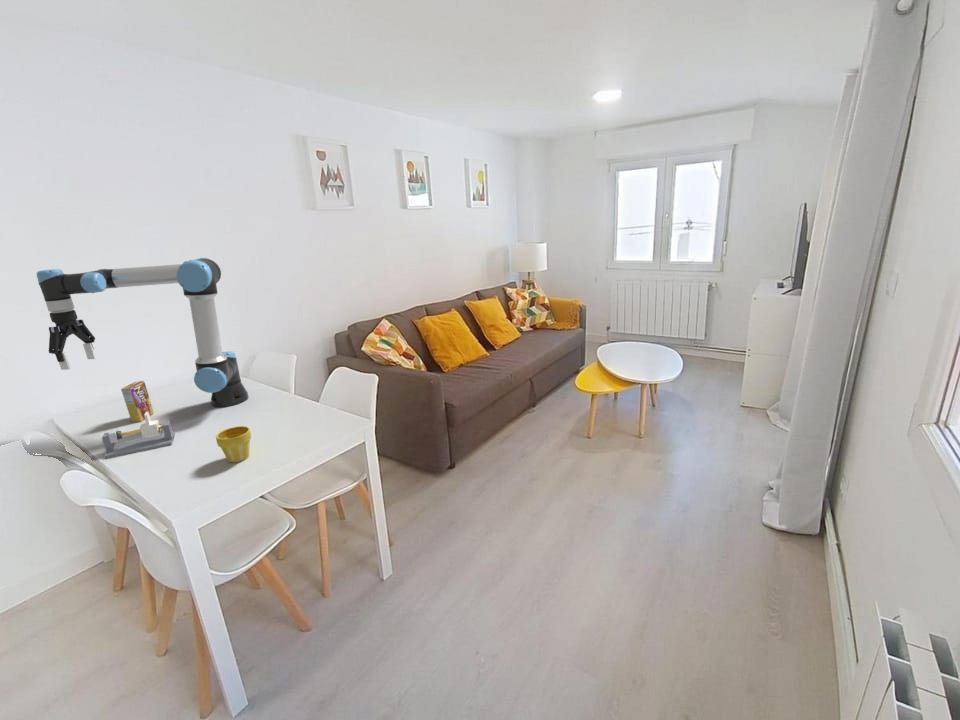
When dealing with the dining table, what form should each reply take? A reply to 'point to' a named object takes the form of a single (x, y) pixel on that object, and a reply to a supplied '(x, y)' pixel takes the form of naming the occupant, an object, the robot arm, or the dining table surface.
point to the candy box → (137, 401)
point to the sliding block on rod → (136, 441)
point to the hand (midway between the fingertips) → (79, 363)
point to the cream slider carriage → (149, 427)
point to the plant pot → (235, 443)
